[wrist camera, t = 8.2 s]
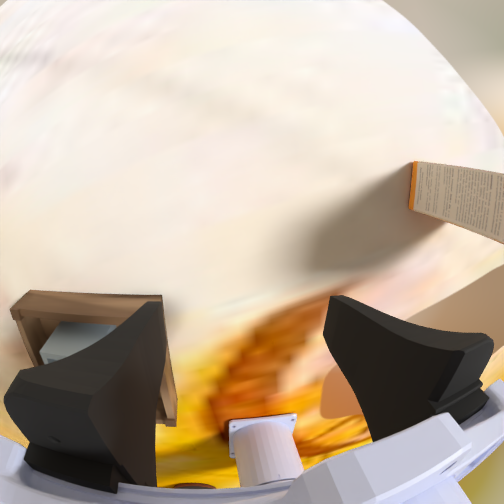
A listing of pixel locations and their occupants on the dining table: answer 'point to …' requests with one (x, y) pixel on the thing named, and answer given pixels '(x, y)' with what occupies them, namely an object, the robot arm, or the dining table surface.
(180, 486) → the mug
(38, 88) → the dining table surface
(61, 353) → the grey crate
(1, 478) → the robot arm
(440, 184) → the supplement box
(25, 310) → the walnut crate
